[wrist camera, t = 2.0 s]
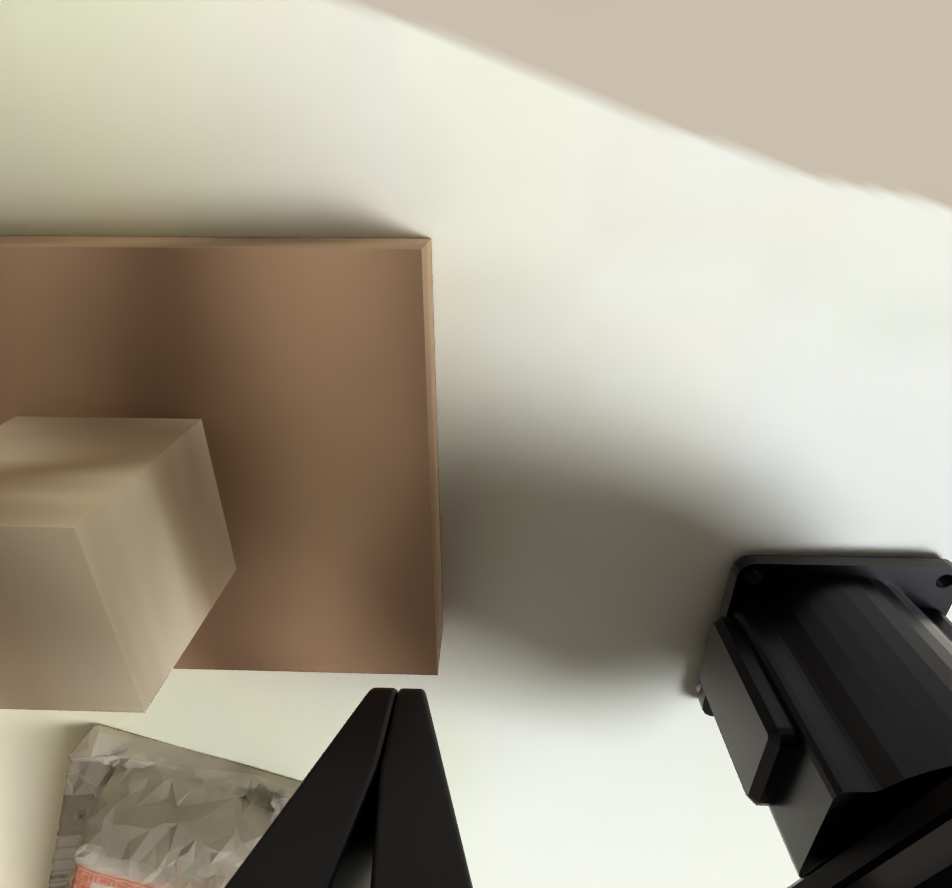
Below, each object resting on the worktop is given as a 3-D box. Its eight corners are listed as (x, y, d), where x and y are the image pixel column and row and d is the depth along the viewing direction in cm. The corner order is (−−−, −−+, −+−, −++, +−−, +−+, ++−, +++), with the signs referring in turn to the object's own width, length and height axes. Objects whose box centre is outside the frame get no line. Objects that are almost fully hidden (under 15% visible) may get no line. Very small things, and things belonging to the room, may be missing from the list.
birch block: (201, 419, 13) (74, 527, 9) (236, 569, 15) (144, 712, 11) (16, 416, 13) (-189, 522, 9) (75, 565, 15) (-74, 706, 11)
